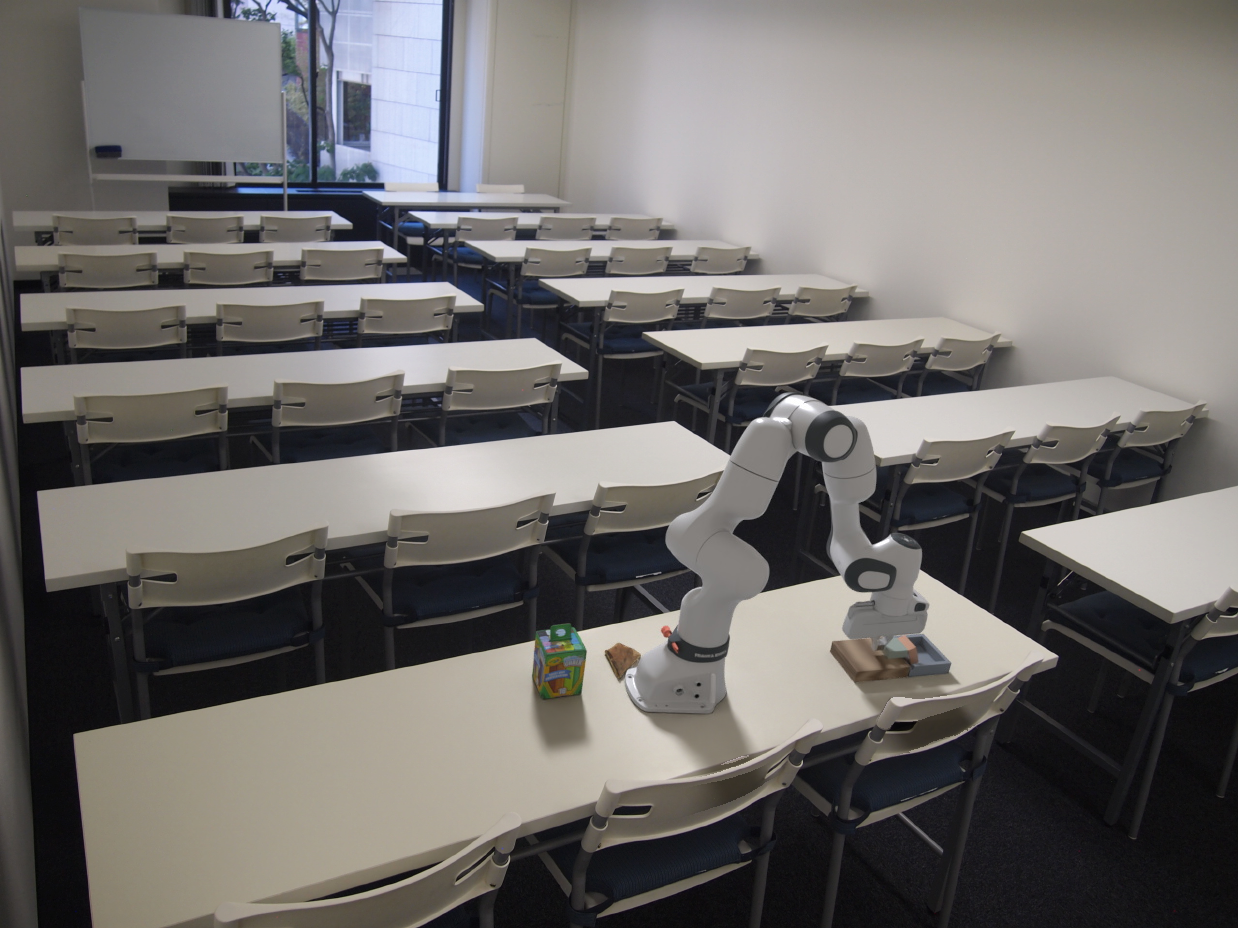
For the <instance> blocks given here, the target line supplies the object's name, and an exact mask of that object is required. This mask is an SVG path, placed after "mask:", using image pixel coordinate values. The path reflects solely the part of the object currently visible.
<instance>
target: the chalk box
mask: <svg viewBox="0 0 1238 928" xmlns="http://www.w3.org/2000/svg"><path fill="white" fill-rule="evenodd" d="M534 639H535V640H534V649H533V662H532V675H531V676H532V677H533V680H534V683H535V686H536V687H537V691H538V692H539V695H540V697H541V699H542V700H546V699H554V698H559V697H567V696H573V695H574V696H575V695H581V694H582V691H583V684H584V677H585V668H586V661H587V653H588V650H587V648H586V646H585V644H584V643H583V641H582V638H581V636H580V635H579V632H577V629H576V628H575V627H573V626H572V624H571V623H569V622H568V623H561V624H560V623H559V624H553V625H551V626H550V629H542V630H536V631H535V637H534Z"/></svg>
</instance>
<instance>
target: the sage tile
mask: <svg viewBox="0 0 1238 928" xmlns="http://www.w3.org/2000/svg"><path fill="white" fill-rule="evenodd" d="M880 640H881V639H879V641H880ZM881 652H882V653H883V654H884V655H885V656H886V657H887V658H888V659H892V658H903V657H907V653H908V649H907V648H906V647H905V646H904V645H903V644H902V643H901V642H900V641H899V639H898V638H893V639H892V640H891V641H890V642H889V643H888V644H887V646H886V649H885V650H881Z"/></svg>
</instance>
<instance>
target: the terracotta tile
mask: <svg viewBox="0 0 1238 928" xmlns="http://www.w3.org/2000/svg"><path fill="white" fill-rule="evenodd" d="M900 636H901V635H900ZM898 639H899V641H900V642H901V643H902V644H903V645H904V646H905V647H906V648H907V649H908V653H907V657H904V658H905V659H906V660H907V661H908V663H909V664H910V665H911V666H912V664H917V663H919V661H918V655H917V650H916V647H915V646H914V644H913V643H912V642H911V641H910V640H909V639H908V638H907V637H906V636H905V635H903V636H901V637H899V638H898Z"/></svg>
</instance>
